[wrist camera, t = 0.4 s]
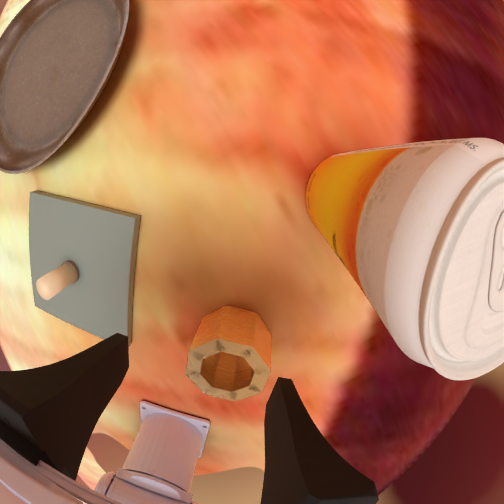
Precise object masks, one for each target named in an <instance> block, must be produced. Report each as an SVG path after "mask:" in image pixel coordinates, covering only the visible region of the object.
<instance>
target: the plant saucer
mask: <svg viewBox="0 0 504 504" xmlns="http://www.w3.org/2000/svg"><path fill="white" fill-rule="evenodd" d="M128 18H129V0H30V1H29V2H28V3H27V4H26V5H25V6H24V7H23V8H22V9H21V10H20V11H19V13H18V14H17V15H16V16H15V17H14V19H13V20H12V21H11V22H10V24H9V25H8V27H7V28H6V30H5V31H4V32H3V34H2V36H1V37H0V170H1V171H2V172H5V173H10V174H18V173H23V172H26V171H29V170H31V169H33V168H35V167H37V166H38V165H40V164H41V163H43V162H44V161H45V160H47V159H48V158H49V157H50V156H51V155H52V154H54V153H55V152H56V151H57V150H58V149H59V148H60V147H61V146H62V145H63V144H64V143H65V142H66V141H67V140H68V138H69V137H70V136H71V135H72V134H73V133H74V132H75V130H76V129H77V128H78V126H79V125H80V124H81V123H82V121H83V120H84V119H85V117H86V116H87V115H88V113H89V112H90V110H91V109H92V107H93V106H94V104H95V103H96V101H97V99H98V98H99V96H100V94H101V92H102V91H103V89H104V87H105V85H106V83H107V81H108V79H109V77H110V75H111V73H112V71H113V69H114V67H115V64H116V62H117V59H118V56H119V54H120V51H121V48H122V45H123V41H124V38H125V34H126V29H127V24H128Z"/></svg>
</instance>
